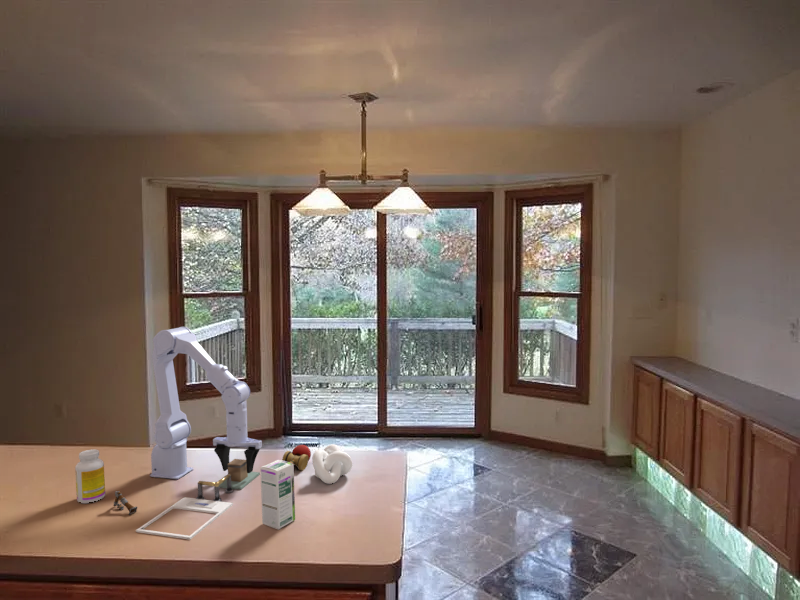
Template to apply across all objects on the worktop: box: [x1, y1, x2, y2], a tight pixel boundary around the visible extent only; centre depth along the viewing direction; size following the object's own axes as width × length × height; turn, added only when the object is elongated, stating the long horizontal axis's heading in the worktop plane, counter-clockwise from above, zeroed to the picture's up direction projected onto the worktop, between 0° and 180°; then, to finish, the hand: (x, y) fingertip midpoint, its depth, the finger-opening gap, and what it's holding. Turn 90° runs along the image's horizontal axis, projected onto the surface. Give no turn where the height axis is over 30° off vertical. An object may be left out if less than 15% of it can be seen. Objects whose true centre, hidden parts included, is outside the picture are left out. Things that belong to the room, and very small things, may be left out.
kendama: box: [281, 444, 312, 472], centre depth 162 cm, size 8×6×18 cm
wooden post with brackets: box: [112, 490, 138, 516], centre depth 137 cm, size 2×8×4 cm, turn 61°
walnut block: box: [227, 458, 248, 482], centre depth 155 cm, size 4×4×5 cm
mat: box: [219, 471, 261, 490], centre depth 155 cm, size 8×11×1 cm
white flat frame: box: [135, 496, 234, 541], centre depth 133 cm, size 15×1×18 cm
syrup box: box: [259, 459, 296, 530], centre depth 130 cm, size 6×6×14 cm
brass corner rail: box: [195, 473, 234, 502], centre depth 145 cm, size 7×8×5 cm
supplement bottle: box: [74, 449, 106, 504], centre depth 143 cm, size 7×7×13 cm
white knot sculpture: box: [312, 443, 353, 485], centre depth 156 cm, size 11×12×9 cm
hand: (238, 470), depth 155 cm, fingers open, 7 cm apart
